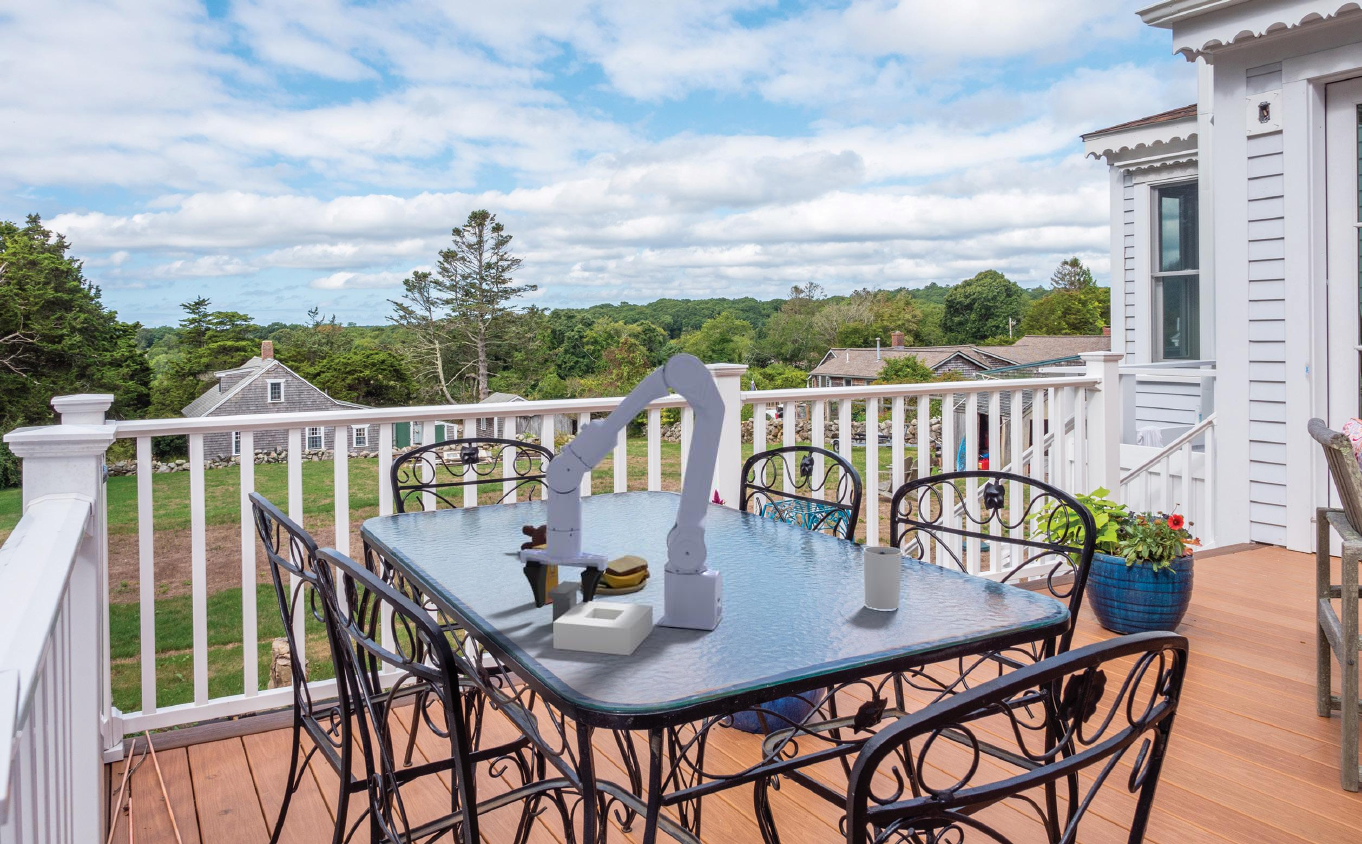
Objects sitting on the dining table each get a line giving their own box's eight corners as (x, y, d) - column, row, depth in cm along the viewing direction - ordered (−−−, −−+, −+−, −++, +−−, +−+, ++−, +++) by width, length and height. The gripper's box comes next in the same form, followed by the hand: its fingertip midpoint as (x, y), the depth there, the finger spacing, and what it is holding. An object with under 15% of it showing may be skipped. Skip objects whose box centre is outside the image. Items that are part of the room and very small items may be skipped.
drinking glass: (854, 603, 159) (855, 548, 158) (885, 599, 161) (887, 544, 160) (877, 614, 153) (878, 556, 152) (909, 609, 155) (910, 552, 154)
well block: (652, 630, 143) (652, 605, 143) (629, 655, 132) (629, 628, 132) (582, 624, 146) (581, 600, 146) (553, 648, 135) (553, 622, 135)
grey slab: (581, 617, 150) (580, 582, 150) (565, 630, 143) (565, 593, 143) (564, 616, 151) (564, 581, 150) (547, 628, 144) (547, 592, 144)
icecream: (589, 524, 196) (532, 524, 203) (570, 521, 189) (512, 521, 196) (587, 556, 195) (530, 555, 202) (568, 555, 188) (510, 553, 195)
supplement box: (546, 597, 162) (546, 542, 161) (559, 600, 160) (559, 545, 159) (532, 601, 160) (531, 545, 159) (545, 604, 157) (545, 548, 157)
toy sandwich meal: (570, 583, 173) (570, 559, 172) (634, 575, 179) (634, 551, 178) (595, 599, 162) (595, 573, 161) (662, 590, 168) (662, 565, 167)
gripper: (512, 529, 144) (512, 611, 146) (597, 536, 141) (596, 620, 142) (530, 520, 151) (530, 599, 152) (612, 527, 147) (611, 607, 149)
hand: (563, 608), depth 148 cm, fingers open, 7 cm apart
